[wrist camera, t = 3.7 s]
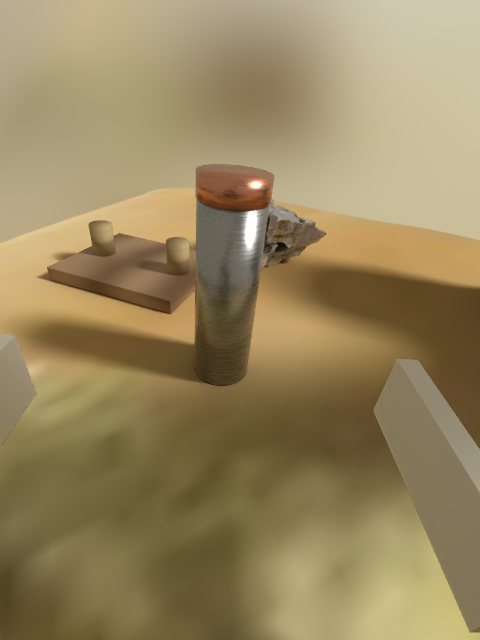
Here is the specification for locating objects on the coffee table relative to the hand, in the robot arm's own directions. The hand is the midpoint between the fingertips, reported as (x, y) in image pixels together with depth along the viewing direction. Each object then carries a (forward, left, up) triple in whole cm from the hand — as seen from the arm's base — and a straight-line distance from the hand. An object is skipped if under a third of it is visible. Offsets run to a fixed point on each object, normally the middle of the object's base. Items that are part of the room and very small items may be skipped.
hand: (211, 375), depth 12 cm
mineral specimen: (+4, -25, -7) cm, 26 cm away
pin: (+2, -7, -7) cm, 10 cm away
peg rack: (+14, -16, -7) cm, 23 cm away
